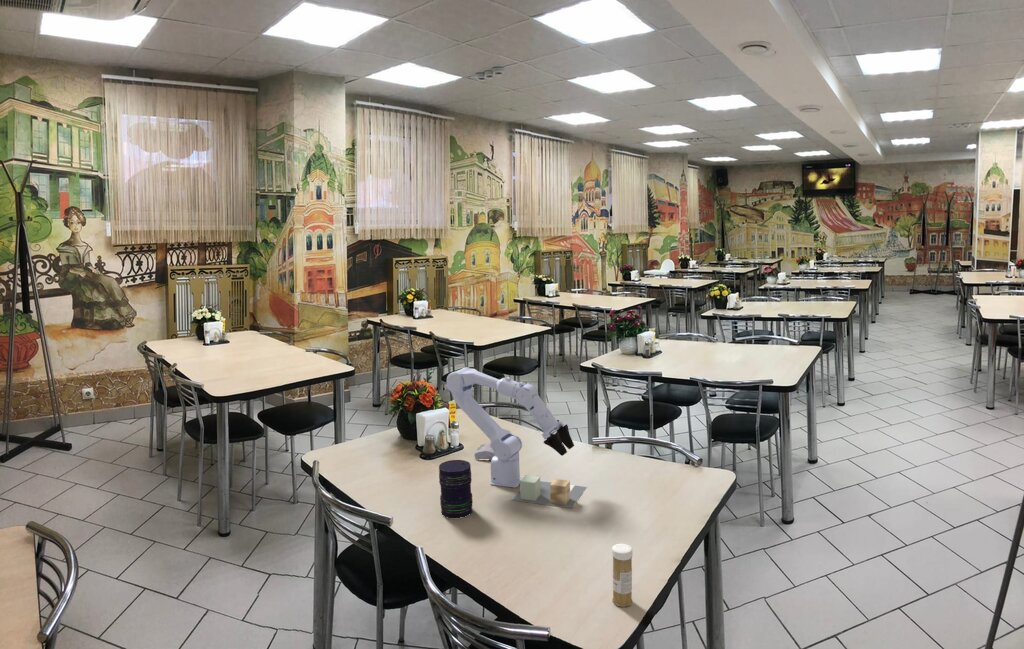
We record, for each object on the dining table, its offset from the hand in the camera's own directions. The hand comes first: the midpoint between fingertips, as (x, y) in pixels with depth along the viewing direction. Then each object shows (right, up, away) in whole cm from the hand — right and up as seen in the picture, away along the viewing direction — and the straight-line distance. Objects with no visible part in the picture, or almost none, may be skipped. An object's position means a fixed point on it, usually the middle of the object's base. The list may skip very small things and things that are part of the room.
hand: (568, 450), depth 207 cm
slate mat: (-6, -14, +2) cm, 16 cm away
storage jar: (-35, -17, -9) cm, 40 cm away
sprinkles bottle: (+7, -23, -59) cm, 64 cm away
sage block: (-12, -15, -1) cm, 19 cm away
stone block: (-27, -10, +39) cm, 48 cm away
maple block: (-3, -15, -4) cm, 16 cm away
